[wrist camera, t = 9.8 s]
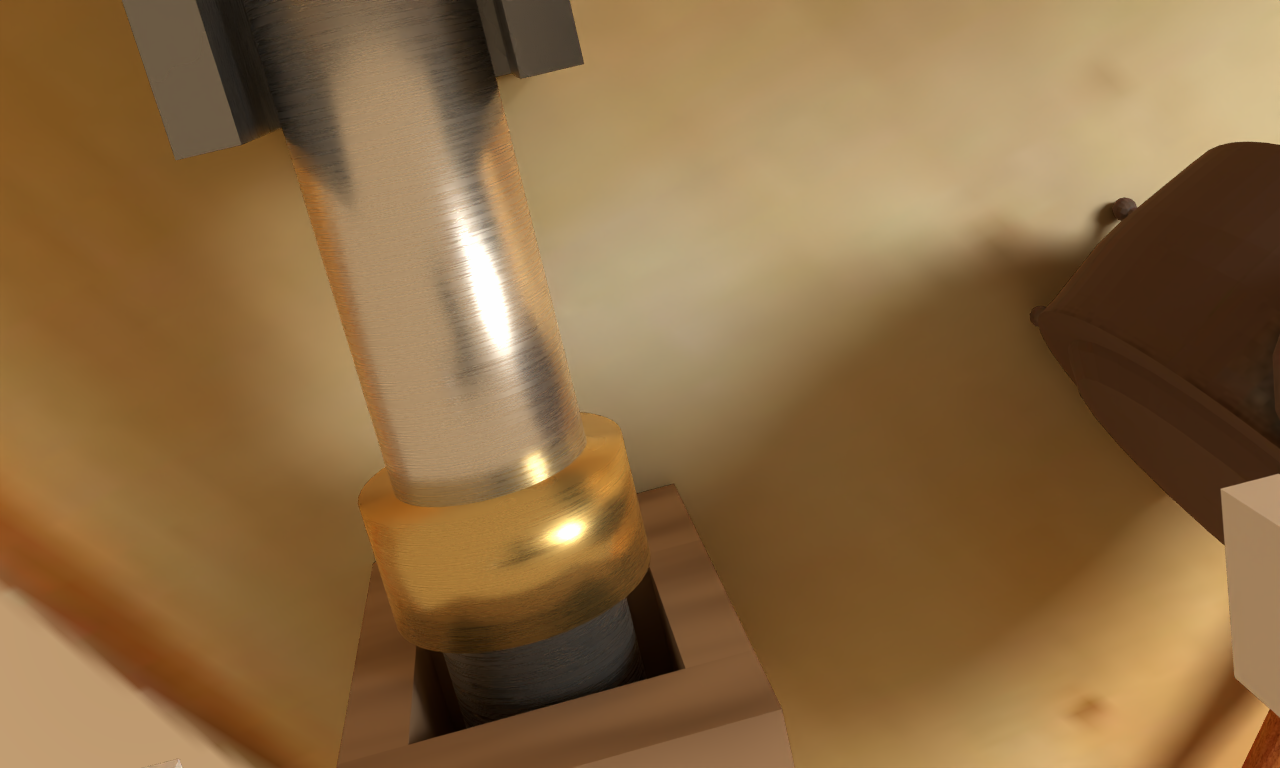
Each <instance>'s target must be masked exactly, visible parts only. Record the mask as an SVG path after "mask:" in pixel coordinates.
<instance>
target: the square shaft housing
mask: <svg viewBox="0 0 1280 768" xmlns="http://www.w3.org/2000/svg"><path fill="white" fill-rule="evenodd" d="M122 2H123V5H124V8H125V11H126V14H127V17H128V20H129V23H130V26H131V29H132V32H133V35H134V38H135V41H136V44H137V47H138V50H139V53H140V56H141V59H142V62H143V65H144V68H145V71H146V74H147V77H148V79H149V82H150V85H151V88H152V91H153V94H154V97H155V100H156V103H157V106H158V109H159V112H160V115H161V118H162V121H163V124H164V127H165V130H166V133H167V136H168V139H169V142H170V145H171V148H172V151H173V154H174V157H175V160H179V159H184V158H188V157H192V156H196V155H200V154H205V153H209V152H213V151H217V150H222V149H226V148H230V147H234V146H239V145H242V144H245V143H247V142H249V141H252V140H254V139H256V138H259V137H261V136H263V135H266V134H268V133H270V132H273V131H275V130H277V129H280V128H282V127H281V123H280V120H279V117H278V114H277V110H276V107H275V104H274V101H273V97H272V94H271V91H270V87H269V84H268V81H267V78H266V74H265V71H264V68H263V65H262V61H261V58H260V55H259V52H258V48H257V45H256V42H255V39H254V35H253V32H252V29H251V26H250V22H249V19H248V16H247V13H246V9H245V6H244V3H243V0H122ZM476 2H477V6H478V10H479V14H480V18H481V22H482V26H483V30H484V34H485V38H486V42H487V46H488V49H489V53H490V57H491V61H492V65H493V69H494V73H495V77H497V76H502V75H506V74H510V73H511V74H513V75H515V76H517V77H518V78H520V79H522V78H526V77H531V76H535V75H539V74H543V73H547V72H552V71H556V70H560V69H564V68H569V67H573V66H577V65H581V64H584V62H583V57H582V53H581V49H580V44H579V40H578V35H577V31H576V27H575V22H574V18H573V14H572V9H571V5H570V1H569V0H476Z"/></svg>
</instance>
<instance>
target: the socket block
mask: <svg viewBox="0 0 1280 768" xmlns="http://www.w3.org/2000/svg"><path fill="white" fill-rule="evenodd" d="M636 495H637V499H638V503H639V507H640V511H641V515H642V519H643V524H644V528H645V532H646V536H647V540H648V544H649V548H650V553H651V560H650V565H649V568H648V571H647V573H646V574H645V576H644V578H643V579H642V581H641V582H640V583H639V584H638V585H637V587H636V588H635V589H634V590H633V591H632V592H631V593H630V594H629V595H628V596H626V598H627V602H628V606H629V610H630V614H631V618H632V622H633V626H634V630H635V634H636V638H637V642H638V646H639V650H640V654H641V658H642V662H643V666H644V670H645V674H646V678H647V679H646V680H642V681H638V682H635V683H631V684H627V685H624V686H620V687H617V688H613V689H609V690H606V691H602V692H598V693H595V694H591V695H587V696H584V697H580V698H577V699H573V700H569V701H566V702H562V703H558V704H555V705H551V706H548V707H544V708H540V709H537V710H533V711H529V712H526V713H522V714H518V715H515V716H511V717H508V718H504V719H500V720H497V721H493V722H489V723H486V724H482V725H478V726H475V727H471V728H468V729H466V726H465V723H464V719H463V716H462V713H461V710H460V706H459V703H458V700H457V697H456V693H455V690H454V687H453V684H452V680H451V677H450V674H449V671H448V667H447V664H446V661H445V658H444V654H443V652H437V651H431V650H427V649H424V648H421V647H418V646H416V645H414V644H412V643H410V642H409V641H408V640H406V639H405V638H404V637H403V636H402V635H401V633H400V632H399V631H398V628H397V625H396V622H395V619H394V616H393V613H392V609H391V606H390V603H389V600H388V597H387V594H386V590H385V587H384V584H383V581H382V578H381V575H380V572H379V568H378V565H377V562H375V563H373V567H372V573H371V579H370V584H369V590H368V595H367V601H366V607H365V612H364V618H363V623H362V629H361V634H360V640H359V646H358V651H357V657H356V662H355V668H354V673H353V679H352V685H351V690H350V696H349V701H348V707H347V713H346V718H345V724H344V729H343V735H342V740H341V746H340V752H339V757H338V763H337V768H795V767H794V762H793V758H792V753H791V748H790V744H789V739H788V734H787V730H786V725H785V720H784V716H783V711H782V708H781V706H780V704H779V702H778V700H777V697H776V695H775V693H774V691H773V689H772V687H771V685H770V683H769V681H768V679H767V677H766V674H765V672H764V670H763V668H762V666H761V664H760V662H759V660H758V658H757V656H756V654H755V652H754V649H753V647H752V645H751V643H750V641H749V639H748V637H747V635H746V633H745V631H744V629H743V627H742V624H741V622H740V620H739V618H738V616H737V614H736V612H735V610H734V608H733V606H732V604H731V602H730V599H729V597H728V595H727V593H726V591H725V589H724V587H723V585H722V583H721V581H720V579H719V577H718V574H717V572H716V570H715V568H714V566H713V564H712V562H711V560H710V558H709V556H708V554H707V552H706V549H705V547H704V545H703V543H702V541H701V539H700V537H699V535H698V533H697V531H696V529H695V527H694V524H693V522H692V520H691V518H690V516H689V514H688V512H687V510H686V508H685V506H684V504H683V502H682V499H681V497H680V495H679V493H678V491H677V489H676V487H675V485H674V484H671V485H667V486H664V487H660V488H656V489H652V490H648V491H645V492H641V493H637V494H636Z"/></svg>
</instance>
